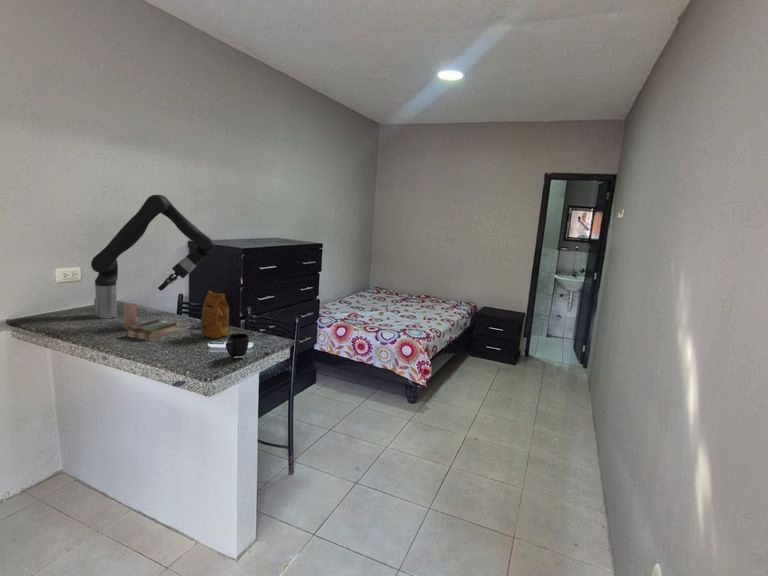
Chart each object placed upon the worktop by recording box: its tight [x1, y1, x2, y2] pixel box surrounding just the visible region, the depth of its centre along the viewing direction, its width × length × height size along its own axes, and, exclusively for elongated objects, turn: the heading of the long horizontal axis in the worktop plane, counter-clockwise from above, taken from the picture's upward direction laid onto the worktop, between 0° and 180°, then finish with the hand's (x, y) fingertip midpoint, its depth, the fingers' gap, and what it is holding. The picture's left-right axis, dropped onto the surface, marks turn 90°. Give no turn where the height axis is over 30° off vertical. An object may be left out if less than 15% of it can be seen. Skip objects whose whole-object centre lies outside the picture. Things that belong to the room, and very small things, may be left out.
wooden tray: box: [126, 318, 182, 341], centre depth 201 cm, size 12×20×5 cm, turn 165°
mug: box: [225, 332, 250, 359], centre depth 177 cm, size 8×12×10 cm
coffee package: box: [200, 290, 230, 340], centre depth 204 cm, size 10×12×22 cm
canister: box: [122, 303, 138, 331], centre depth 204 cm, size 6×6×12 cm
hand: (159, 289), depth 214 cm, fingers open, 8 cm apart
